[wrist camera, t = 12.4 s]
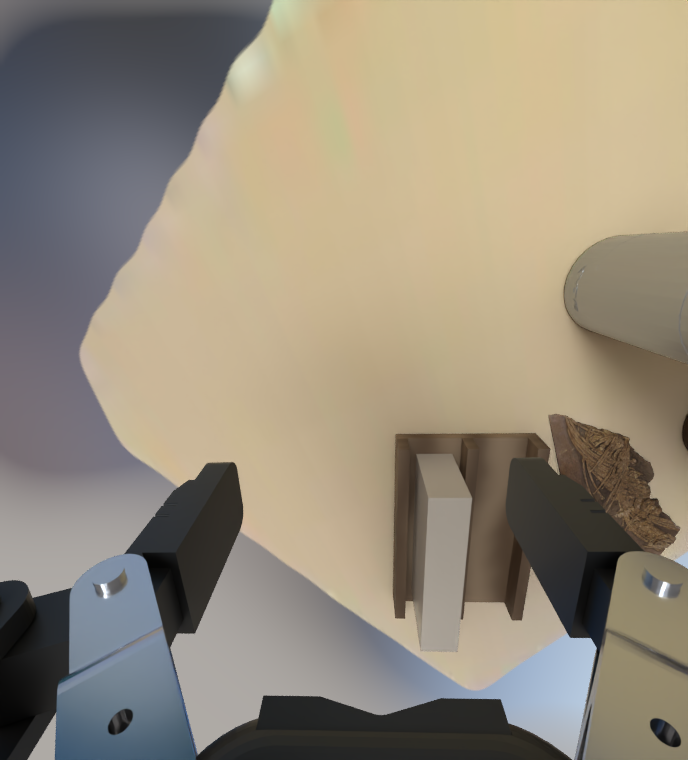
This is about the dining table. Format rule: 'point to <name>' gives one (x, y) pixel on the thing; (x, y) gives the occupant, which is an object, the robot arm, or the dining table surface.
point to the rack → (487, 520)
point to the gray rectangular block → (439, 550)
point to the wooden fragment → (613, 480)
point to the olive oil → (685, 433)
